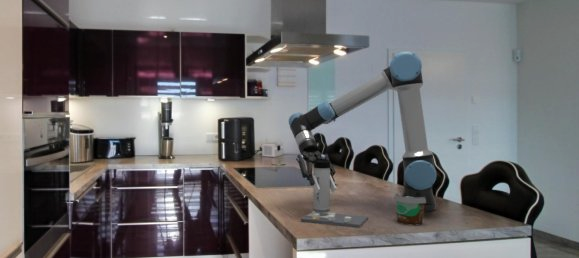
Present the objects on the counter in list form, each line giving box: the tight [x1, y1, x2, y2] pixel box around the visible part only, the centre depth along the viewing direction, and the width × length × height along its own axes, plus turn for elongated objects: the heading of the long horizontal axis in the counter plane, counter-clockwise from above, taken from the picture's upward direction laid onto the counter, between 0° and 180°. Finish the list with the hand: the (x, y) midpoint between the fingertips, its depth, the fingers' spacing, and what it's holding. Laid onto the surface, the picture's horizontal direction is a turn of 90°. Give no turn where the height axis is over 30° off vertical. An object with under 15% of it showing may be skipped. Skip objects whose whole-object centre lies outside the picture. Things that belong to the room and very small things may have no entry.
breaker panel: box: [300, 211, 369, 228], centre depth 161 cm, size 22×14×2 cm, turn 68°
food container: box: [393, 192, 426, 226], centre depth 158 cm, size 12×6×10 cm, turn 45°
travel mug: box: [312, 158, 331, 213], centre depth 165 cm, size 6×7×20 cm
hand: (326, 190), depth 162 cm, fingers closed on travel mug, 6 cm apart
